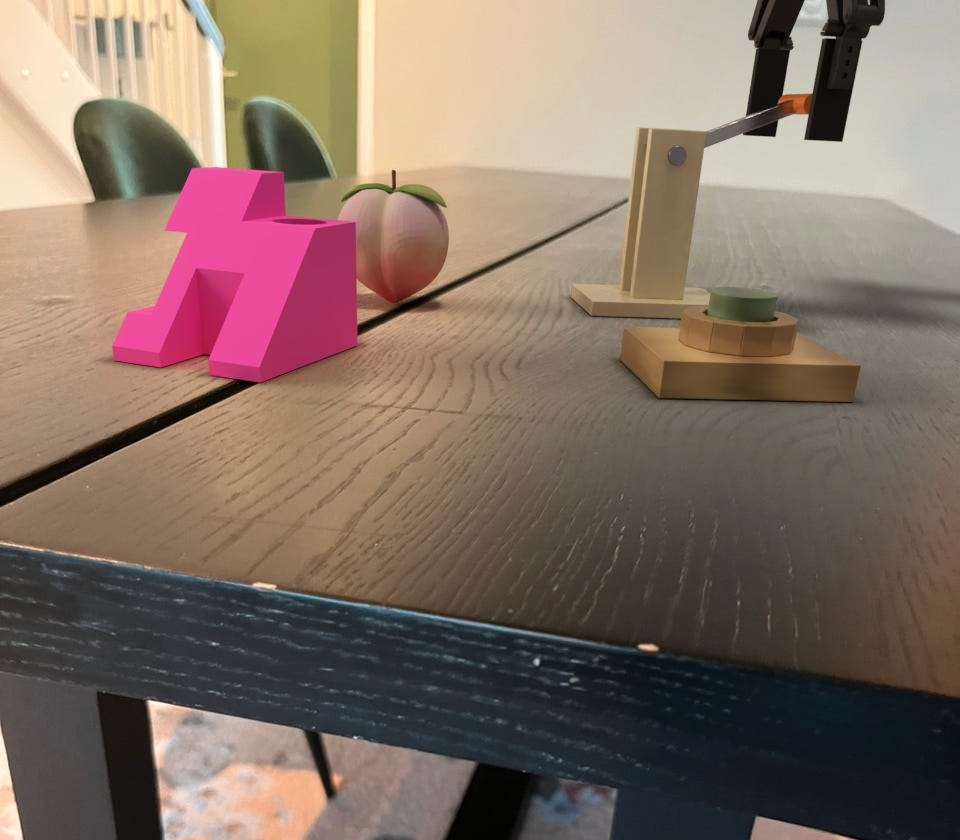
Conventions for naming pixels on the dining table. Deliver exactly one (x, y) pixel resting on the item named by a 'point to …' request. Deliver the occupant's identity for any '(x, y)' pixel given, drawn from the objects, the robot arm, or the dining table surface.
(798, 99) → the lever
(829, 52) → the robot arm
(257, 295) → the bracket
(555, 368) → the dining table surface
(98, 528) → the dining table surface
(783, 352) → the button block
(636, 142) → the bracket
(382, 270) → the decorative fruit
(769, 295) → the button
